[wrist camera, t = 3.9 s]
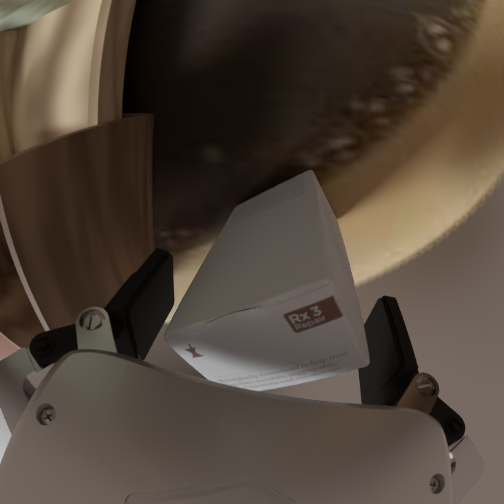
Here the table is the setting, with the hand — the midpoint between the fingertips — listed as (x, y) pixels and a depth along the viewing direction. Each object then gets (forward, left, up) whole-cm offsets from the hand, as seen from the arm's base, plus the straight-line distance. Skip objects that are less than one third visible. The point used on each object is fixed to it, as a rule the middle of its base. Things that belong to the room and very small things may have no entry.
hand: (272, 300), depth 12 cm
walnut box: (+19, +1, -8) cm, 21 cm away
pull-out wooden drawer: (+19, -10, -8) cm, 23 cm away
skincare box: (0, -1, -9) cm, 9 cm away
